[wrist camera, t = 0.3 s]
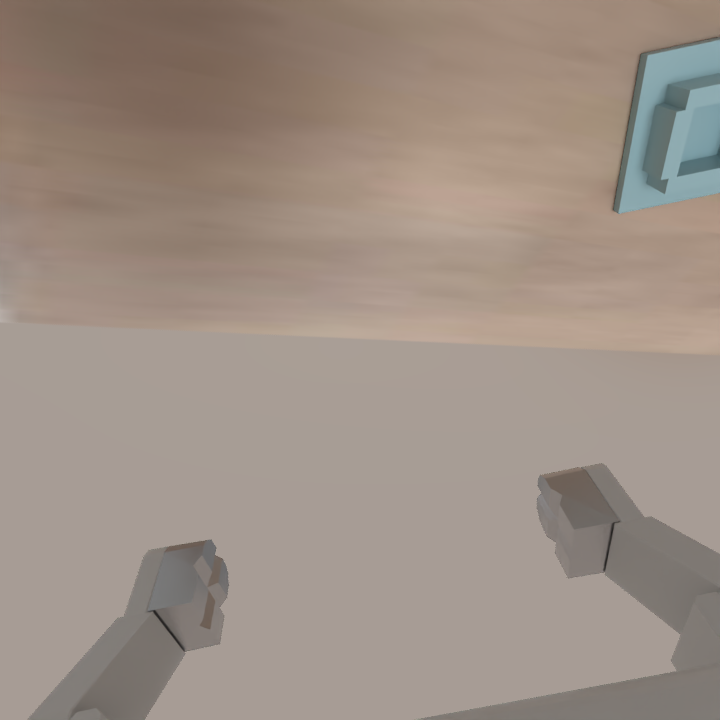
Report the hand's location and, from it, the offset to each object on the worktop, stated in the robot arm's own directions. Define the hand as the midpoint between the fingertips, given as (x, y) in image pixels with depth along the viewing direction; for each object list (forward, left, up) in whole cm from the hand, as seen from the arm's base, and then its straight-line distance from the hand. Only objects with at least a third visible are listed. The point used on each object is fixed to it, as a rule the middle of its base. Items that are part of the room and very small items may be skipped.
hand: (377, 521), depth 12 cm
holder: (+6, +35, -39) cm, 52 cm away
